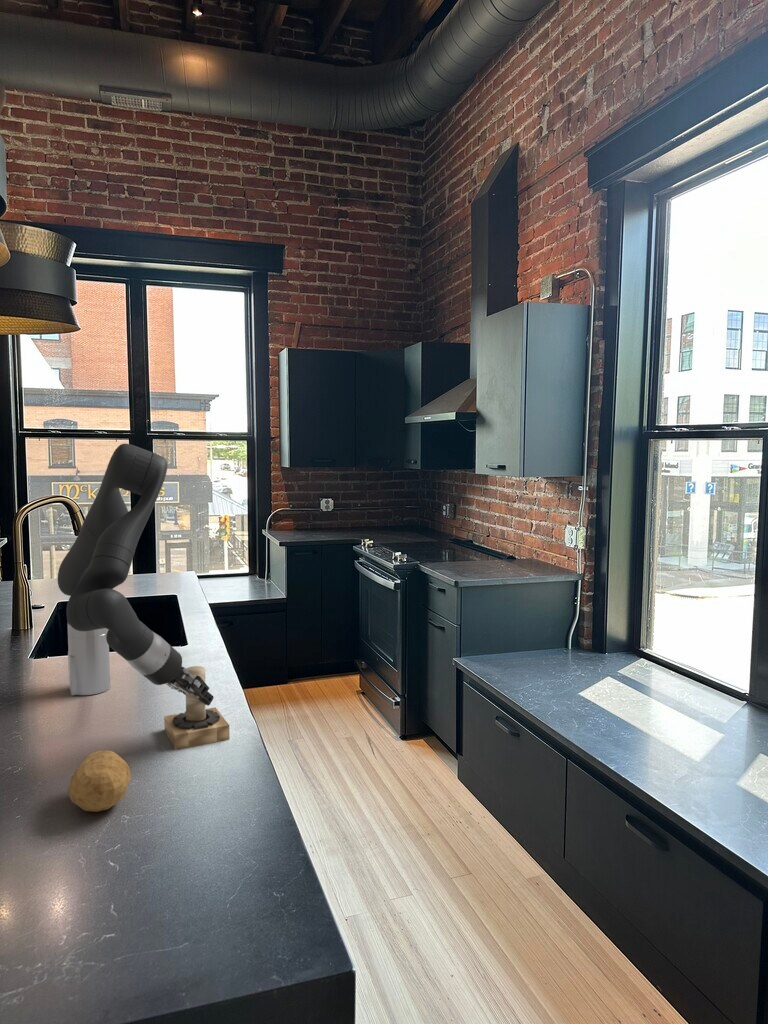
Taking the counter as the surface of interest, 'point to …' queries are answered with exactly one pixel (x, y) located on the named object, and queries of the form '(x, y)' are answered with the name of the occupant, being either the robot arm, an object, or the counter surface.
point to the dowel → (195, 699)
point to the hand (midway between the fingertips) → (202, 698)
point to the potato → (99, 781)
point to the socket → (196, 729)
